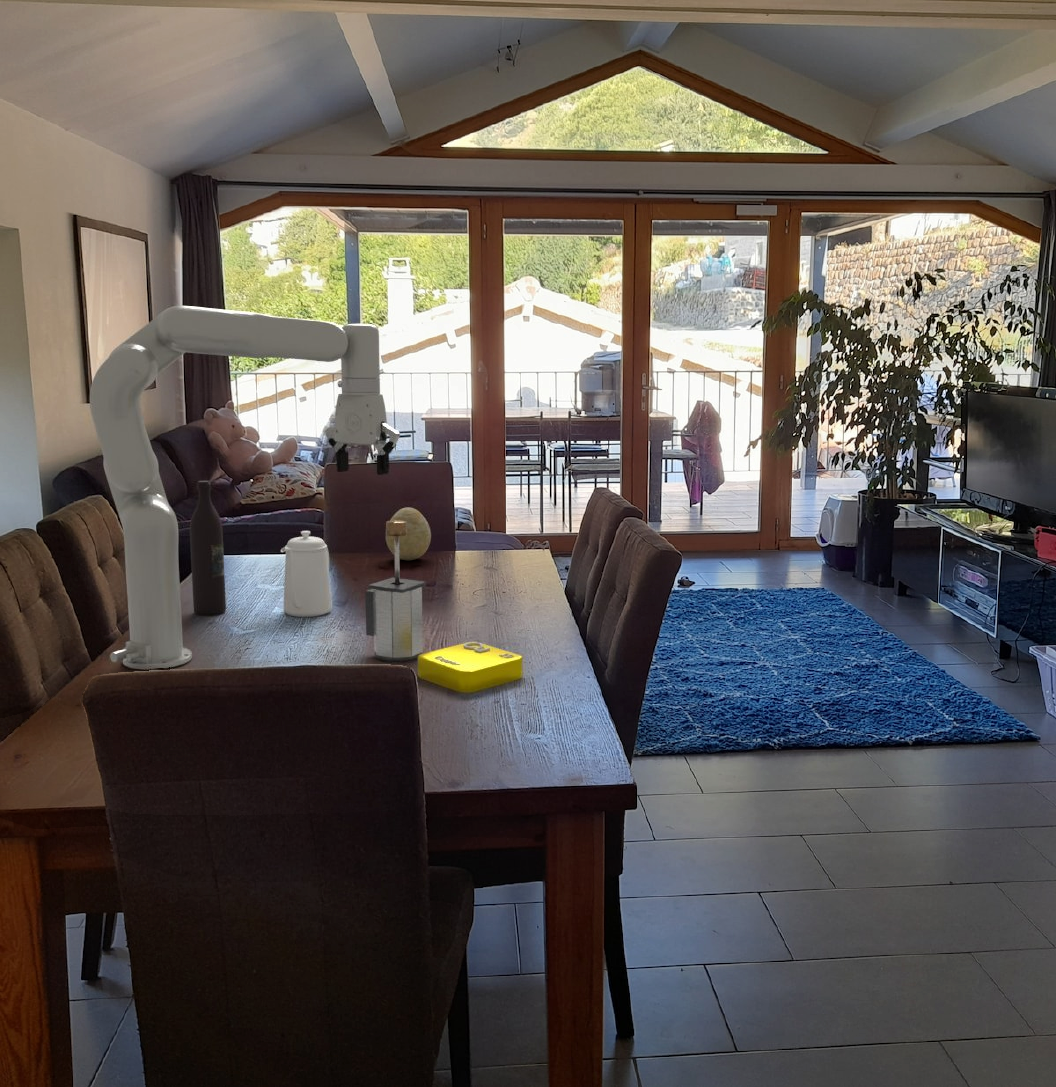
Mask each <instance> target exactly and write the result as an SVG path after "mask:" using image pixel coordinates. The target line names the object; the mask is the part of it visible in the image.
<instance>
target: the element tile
mask: <svg viewBox="0 0 1056 1087" xmlns="http://www.w3.org/2000/svg"><path fill="white" fill-rule="evenodd" d="M523 661H524V656H522V655H520V654H518V653H514V652H511V651H507V650H505V649H504V650H503V649H501V648H498V647H495V646H493V645H492V646H491V645H488V644H485V643H481V642H478V641H468V642H464V643H461V644H456V645H452V646H448V647H445V648H444V647H443V648H439V649H436V650H431V651H427V652H422V654H420V655H419V656H418V659H417V677H418V678H419V679H422V680H425V681H427V682H431V683H434V684H436V685H438V686H441V687H444V688H447V689H450V690H454V691H456V692H459V693H465V694H469V693H476V692H479V691H482V690H486V689H489V688H493V687H497V686H500V685H503V684H507V683H510V682H514V681H517V680H520V679H522V678H523V672H524V671H523V665H524V663H523Z"/></svg>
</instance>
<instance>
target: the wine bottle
mask: <svg viewBox="0 0 1056 1087" xmlns="http://www.w3.org/2000/svg"><path fill="white" fill-rule="evenodd" d="M196 484H197V485H196V487H197V490H198V500H197V501H198V502H197V505H196V507H195V509H194V511H193V513H192V515H191V518H190V523H189V541H190V543H189V544H190V561H191V562H190V564H191V583H192V602H193V603H192V604H193V606H192V607H193V613H194V614H195V615H198V616H203V617H209V616H210V617H212V616H218V615H222V614H225V613H226V611H227V606H226V605H227V601H226V600H227V599H226V583H225V582H226V577H225V560H224V559H225V558H224V554H225V553H224V536H223V535H224V534H223V524H222V520H221V517H220V515H219V513H218V512H217V510H216V508H215V506H214V505H213V503H212V497H211V489H212V487H211V486H212V484H211V482H210V480H197V483H196Z"/></svg>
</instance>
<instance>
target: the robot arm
mask: <svg viewBox="0 0 1056 1087" xmlns="http://www.w3.org/2000/svg"><path fill="white" fill-rule="evenodd" d="M379 332H380V331H379V328H378V327H377V326H376V325H374V324H370V323H346V324H344V325H342V324H341V325H340V324H338V323H335V322H333V321H325V320H315V319H304V318H294V317H293V318H292V317H284V316H276V315H271V314H270V315H268V314H264V313H258V312H252V311H251V312H249V311H244V310H243V311H241V310H230V309H221V308H212V307H210V308H209V307H201V306H190V305H174V306H171V307H168V308H166V309H164V310H163V311H161V312H160V313H159V314H158V315H157V316H156V317H154V318H153V319H152V320H150V321H149V322H148V323H146V324H145V326H142V327H141V328H140V329H139V330H138V331H137V332H135V333H133V335H131V336H130V337H128V338H127V339H126V340H125V341H123V342H121V344H119V345H118V346H117V347H115V348H114V349H113V350H112V351H111V353H109V356H108V357H107V359H106V358H105V359H106V360H105V361H104V362H102V364H101V365H100V366H99V368H98V370H97V371H96V372H95V374H94V376H93V380H92V382H91V386H90V390H89V407H90V414H91V418H92V420H93V424H94V428H95V431H96V436H97V439H98V442H99V443H98V444H99V446H100V450H101V452H102V456H103V469H104V473H105V476H106V480H107V482H108V485H109V489H110V492H111V495H112V498H113V499H112V500H113V501H114V504H115V508H116V511H117V513H118V517H119V519H120V523H121V527H122V529H123V542H124V560H125V579H126V580H125V581H126V592H127V593H126V594H127V595H126V596H127V608H128V625H129V626H128V627H129V640H128V641H126V642H125V647H123V649H121V650H116V651H111V653H110V654H109V659H110V660H111V662H112V663H117V662H119V661H122V664H123V665H124V666H125V667H127V668H130V669H134V670H143V671H144V670H146V671H149V670H150V669H147V668H164V669H168V668H169V667H170V668H174V667H178V666H181V665H185V664H187V663H188V662H190V661H191V659H192V658H193V653H192V651H191V650H190V649H188V648H186V647H184V644H183V643H184V642H183V625H182V624H183V622H182V620H183V619H182V604H181V584H180V570H179V569H180V568H179V567H180V566H179V524H178V520H177V515H176V513H175V511H174V509H173V508H172V507H171V505H170V503H169V501H168V499H167V495H166V492H165V488H164V486H163V481H162V479H161V476H160V475H161V474H160V472H159V468H160V467H159V460H158V458H157V456H156V454H155V452H154V450H153V447H152V443H151V441H150V437H149V435H148V432H147V429H146V424H145V421H144V418H143V414H142V410H141V409H142V408H141V397H142V394H143V392H144V391H145V390H146V389H147V388H148V387H150V386H151V385H152V384H153V383H154V382H155V380H156V379H157V376H158V375H159V374H160V373H162V372H164V370H166V369H167V368H168V367H169V366H170V365H172V364H173V363H175V362H176V361H177V360H179V358H181V357H182V356H183V355H185V353H192V354H201V355H214V356H225V357H226V356H227V357H228V356H229V357H236V358H237V357H238V358H248V359H249V358H250V359H265V358H268V359H271V358H273V359H274V358H276V359H278V358H279V359H295V360H306V361H314V362H315V361H316V362H324V363H333V362H336V361H338V360H340V364H341V365H340V366H341V368H340V369H341V370H340V371H341V380H338V381H337V388H341V393H338V395H337V399H336V404H335V413H334V424H332V425H330V426H329V427H328V428H326V429H325V430H324V432H325V435H326V438H327V439H328V444H329V445H330V446H331V447H332V449H333V452H335V457H336V458H335V461H336V472H338V473H343V472H348V471H349V469H350V465H349V464H350V462H349V459H350V458H349V451H348V450H347V449H348V447H349V446H350V445H358V446H359V445H360V446H372V445H373V447H374V448H375V449H376V452H378V454H377V455H376V474H377V475H378V476H382V475H383V476H384V475H388V474H389V473H390V472H389V470H390V455H391V453H392V451H393V450H394V449H395V448H396V446H397V444H398V441H399V439H400V437H401V433H400V432H399V431H398V430H396V429H394V428H393V427H392V426H389V425H388V421H387V411H386V405H385V400H384V396H383V394H382V393H381V382H380V381H381V379H380V377H381V376H380V373H381V372H380V371H381V370H380V333H379ZM388 437H389V439H388ZM387 440H388V441H387Z"/></svg>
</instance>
